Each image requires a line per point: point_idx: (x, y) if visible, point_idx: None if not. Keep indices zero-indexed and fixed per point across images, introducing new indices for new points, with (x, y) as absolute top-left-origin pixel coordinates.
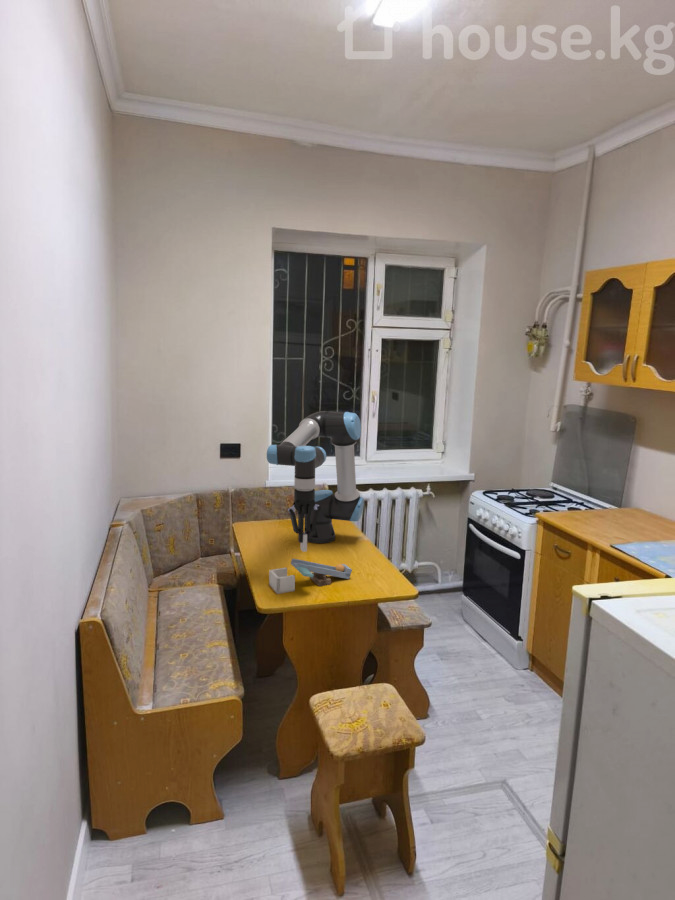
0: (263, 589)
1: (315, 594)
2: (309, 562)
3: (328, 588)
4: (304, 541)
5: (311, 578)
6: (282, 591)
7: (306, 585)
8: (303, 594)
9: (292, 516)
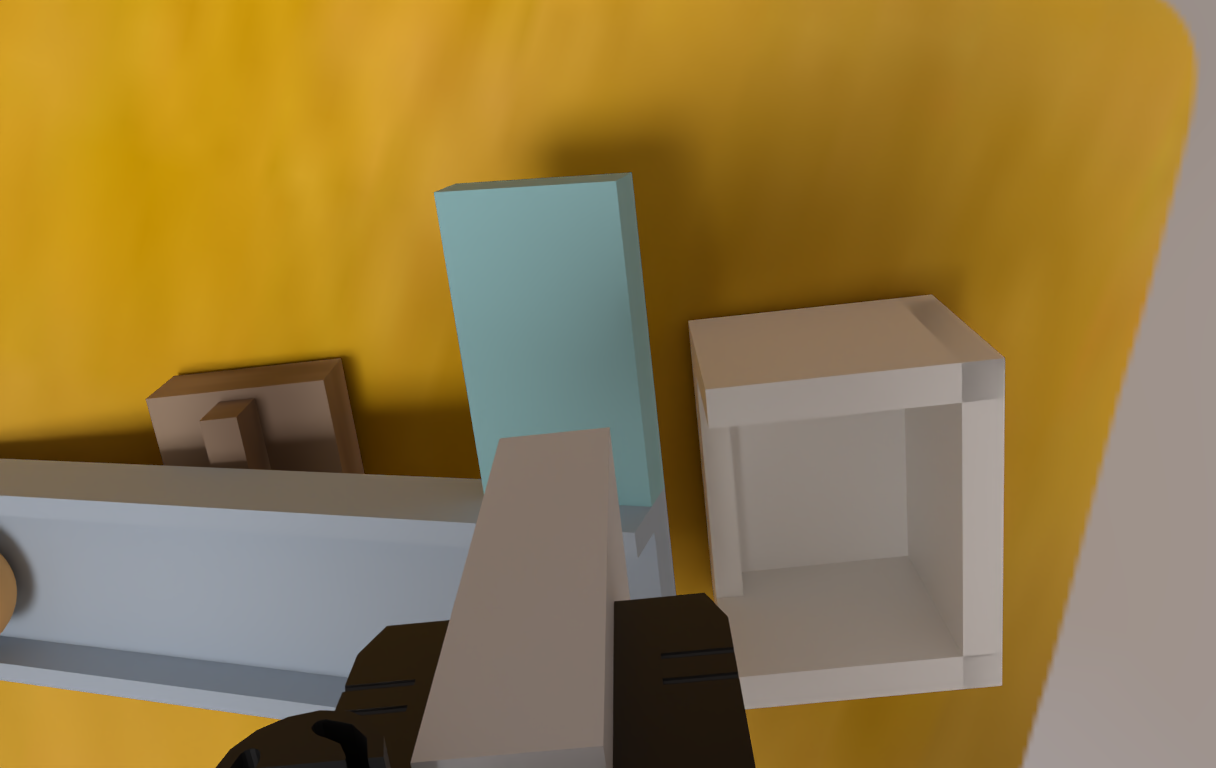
0: (1037, 480)
1: (449, 148)
2: None
3: (233, 279)
4: (563, 579)
5: None
6: (864, 307)
7: None
8: None
9: None
